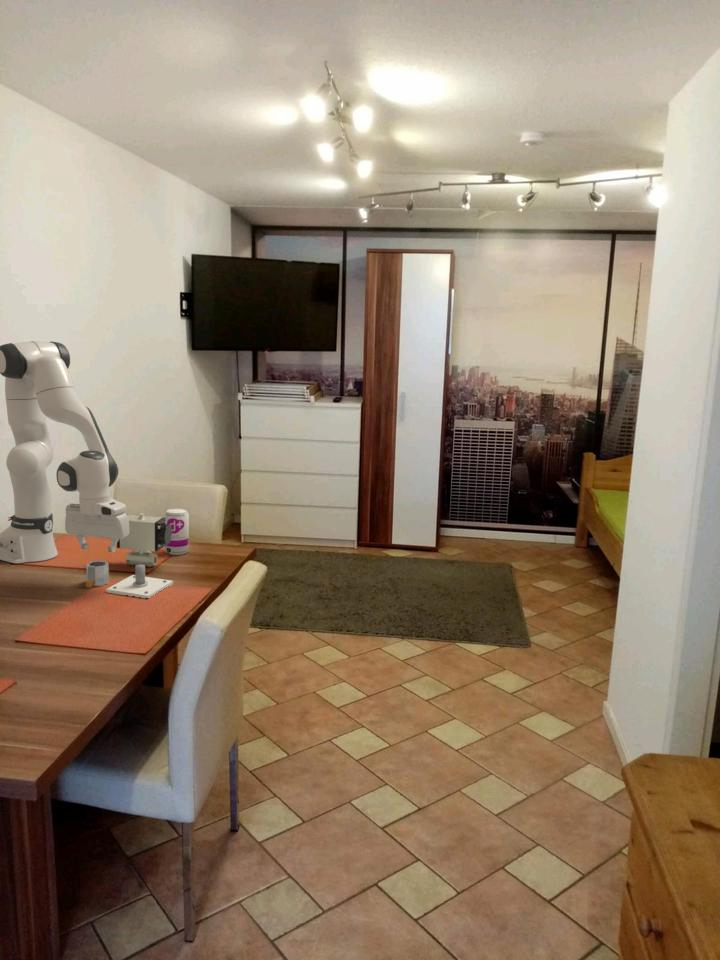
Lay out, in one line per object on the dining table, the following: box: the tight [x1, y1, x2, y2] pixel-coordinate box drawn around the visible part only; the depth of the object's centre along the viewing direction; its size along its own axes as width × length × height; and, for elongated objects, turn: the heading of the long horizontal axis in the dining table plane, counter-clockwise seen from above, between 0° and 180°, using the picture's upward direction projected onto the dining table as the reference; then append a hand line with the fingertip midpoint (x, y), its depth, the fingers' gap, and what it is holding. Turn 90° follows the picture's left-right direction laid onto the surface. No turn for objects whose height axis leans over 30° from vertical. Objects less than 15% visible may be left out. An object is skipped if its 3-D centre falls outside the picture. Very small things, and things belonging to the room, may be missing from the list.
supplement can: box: [164, 507, 190, 556], centre depth 254 cm, size 8×8×15 cm
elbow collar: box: [85, 560, 110, 589], centre depth 221 cm, size 8×6×6 cm
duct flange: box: [105, 564, 174, 599], centre depth 219 cm, size 14×14×7 cm
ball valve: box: [116, 512, 172, 568], centre depth 239 cm, size 18×8×18 cm, turn 84°
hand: (98, 550), depth 220 cm, fingers open, 8 cm apart
